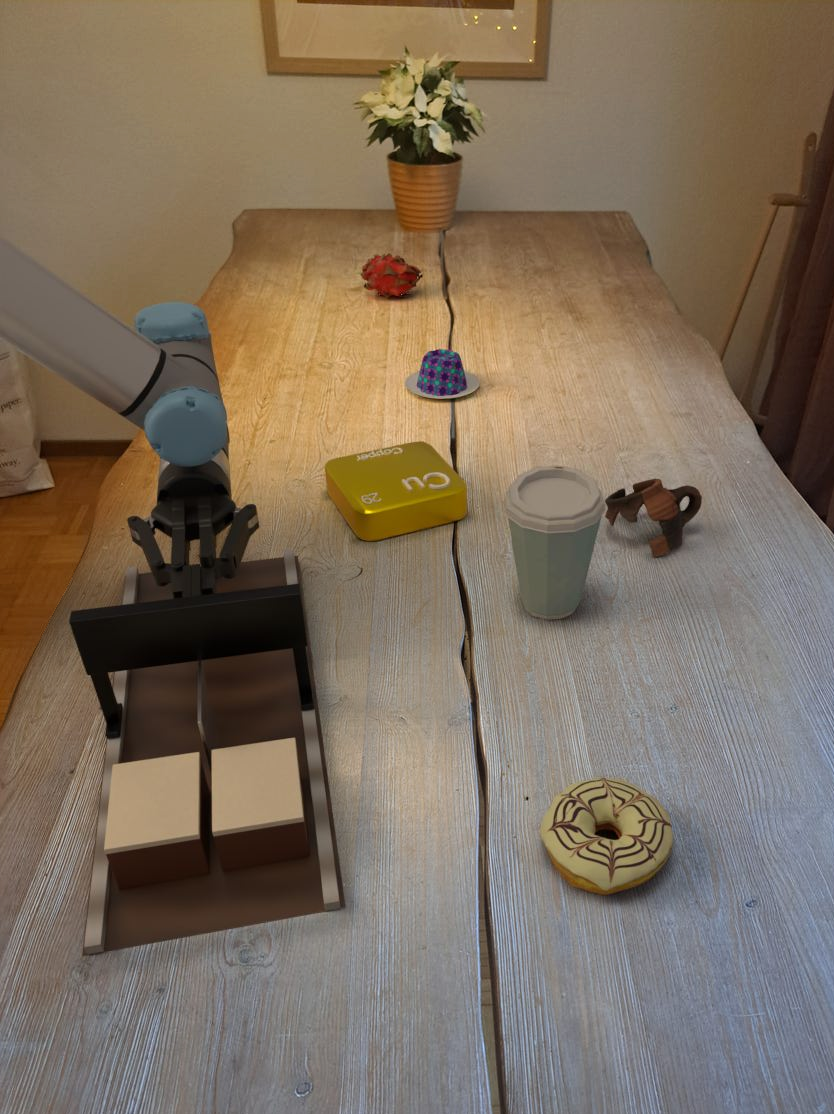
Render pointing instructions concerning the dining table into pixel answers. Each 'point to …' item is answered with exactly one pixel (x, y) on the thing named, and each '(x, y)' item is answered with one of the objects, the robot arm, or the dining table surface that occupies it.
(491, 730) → the dining table surface
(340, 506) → the element tile
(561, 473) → the disposable coffee cup
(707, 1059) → the dining table surface
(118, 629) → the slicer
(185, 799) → the cake
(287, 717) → the brown long flat board
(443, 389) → the pudding
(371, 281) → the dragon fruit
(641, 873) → the decorated donut
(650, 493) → the pottery mug
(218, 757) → the cake
